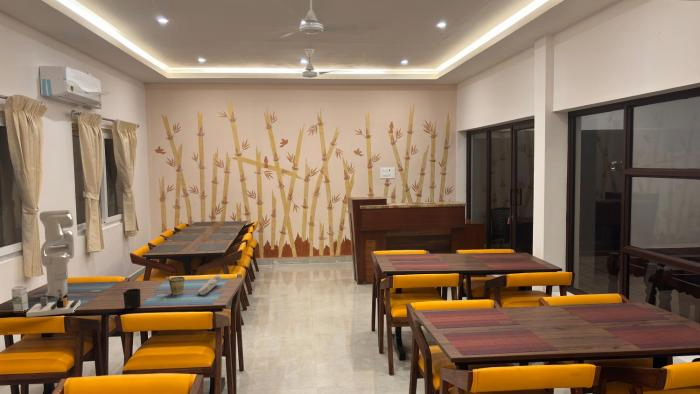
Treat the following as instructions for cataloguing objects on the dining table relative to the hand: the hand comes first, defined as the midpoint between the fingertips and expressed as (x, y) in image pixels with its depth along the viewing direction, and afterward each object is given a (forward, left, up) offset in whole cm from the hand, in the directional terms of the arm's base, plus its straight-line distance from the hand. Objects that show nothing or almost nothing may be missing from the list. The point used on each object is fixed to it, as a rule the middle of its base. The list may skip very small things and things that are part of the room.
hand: (62, 305), depth 294 cm
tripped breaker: (-3, 0, -1) cm, 3 cm away
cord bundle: (-6, 0, -2) cm, 6 cm away
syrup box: (-11, -25, -5) cm, 28 cm away
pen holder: (+3, +38, -5) cm, 38 cm away
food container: (-22, +82, -5) cm, 85 cm away
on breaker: (-9, -12, -1) cm, 15 cm away
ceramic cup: (-21, +63, -5) cm, 67 cm away
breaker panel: (-6, -6, -4) cm, 10 cm away
